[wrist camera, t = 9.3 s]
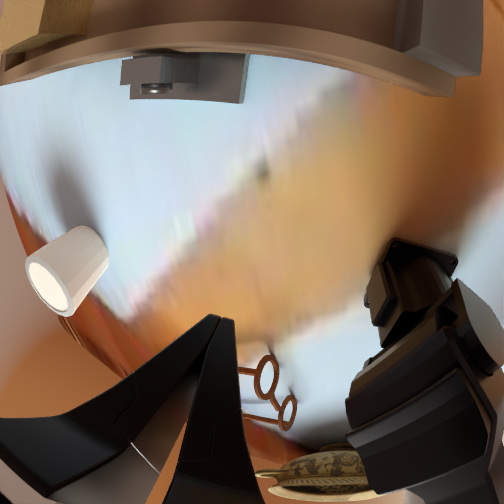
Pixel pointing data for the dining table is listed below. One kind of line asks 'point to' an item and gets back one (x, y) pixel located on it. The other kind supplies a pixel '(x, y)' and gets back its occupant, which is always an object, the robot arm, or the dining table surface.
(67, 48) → the beam
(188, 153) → the dining table surface
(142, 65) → the pivot stand
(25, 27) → the brass block
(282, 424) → the glasses
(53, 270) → the white cup
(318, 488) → the ceramic bowl
